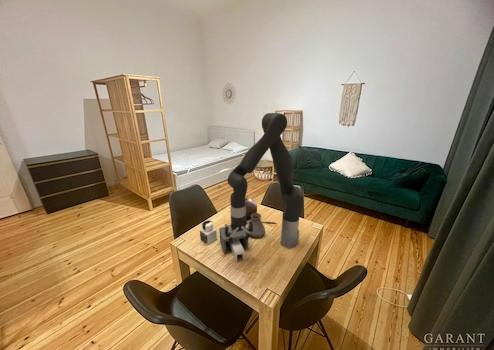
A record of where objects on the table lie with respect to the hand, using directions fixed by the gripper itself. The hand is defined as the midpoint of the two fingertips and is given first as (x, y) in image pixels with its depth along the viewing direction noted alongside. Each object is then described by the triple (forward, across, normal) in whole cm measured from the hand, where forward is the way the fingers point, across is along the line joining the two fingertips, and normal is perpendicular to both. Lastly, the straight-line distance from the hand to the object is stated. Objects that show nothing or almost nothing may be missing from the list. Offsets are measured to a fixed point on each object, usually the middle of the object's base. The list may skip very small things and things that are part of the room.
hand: (239, 240), depth 104 cm
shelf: (+11, 0, -11) cm, 16 cm away
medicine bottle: (+11, +13, -20) cm, 27 cm away
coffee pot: (+12, -18, -12) cm, 24 cm away
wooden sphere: (+12, -16, -35) cm, 40 cm away
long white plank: (+12, 0, -6) cm, 13 cm away
